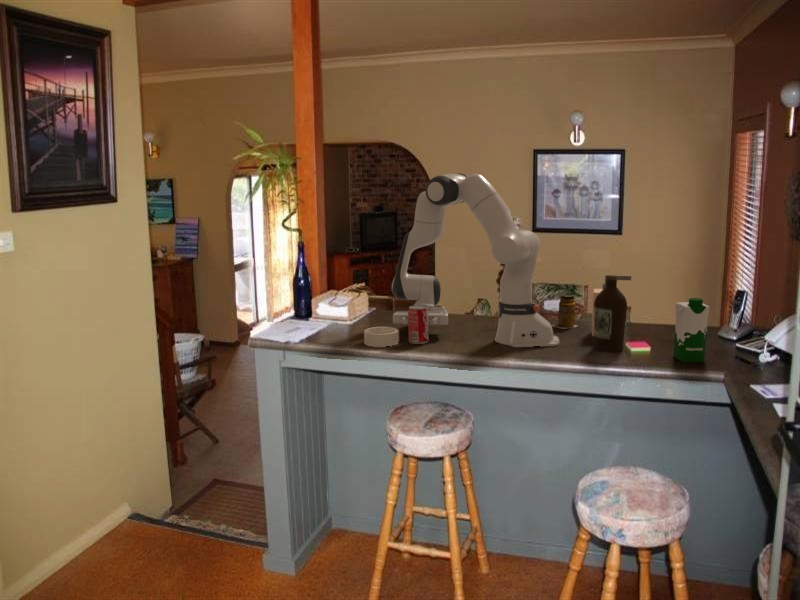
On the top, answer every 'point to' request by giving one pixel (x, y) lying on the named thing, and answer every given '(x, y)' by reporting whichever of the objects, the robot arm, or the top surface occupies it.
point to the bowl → (381, 336)
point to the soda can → (418, 324)
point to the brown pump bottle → (609, 317)
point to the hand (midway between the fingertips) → (418, 322)
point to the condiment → (566, 312)
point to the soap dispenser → (597, 291)
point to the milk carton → (691, 330)
